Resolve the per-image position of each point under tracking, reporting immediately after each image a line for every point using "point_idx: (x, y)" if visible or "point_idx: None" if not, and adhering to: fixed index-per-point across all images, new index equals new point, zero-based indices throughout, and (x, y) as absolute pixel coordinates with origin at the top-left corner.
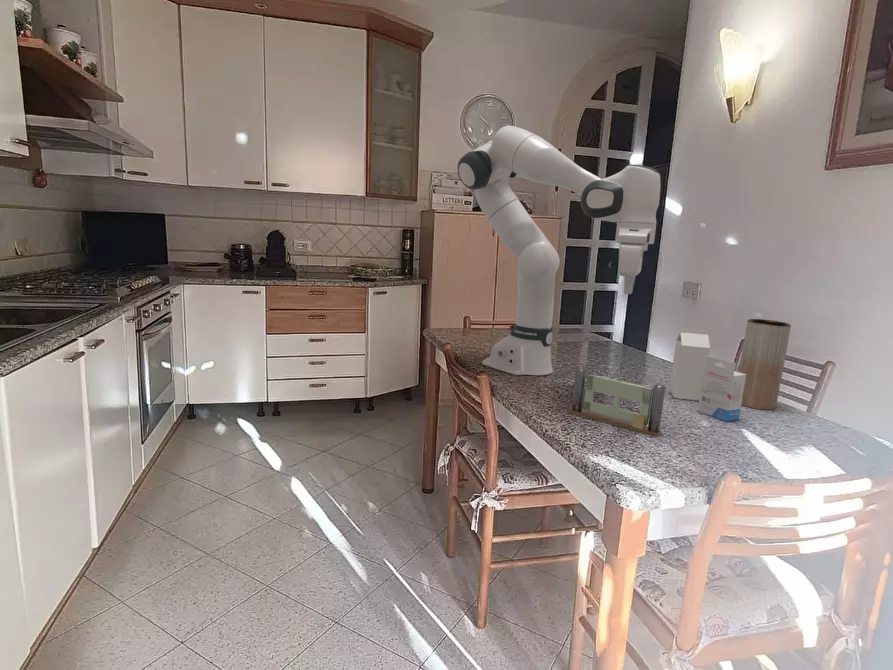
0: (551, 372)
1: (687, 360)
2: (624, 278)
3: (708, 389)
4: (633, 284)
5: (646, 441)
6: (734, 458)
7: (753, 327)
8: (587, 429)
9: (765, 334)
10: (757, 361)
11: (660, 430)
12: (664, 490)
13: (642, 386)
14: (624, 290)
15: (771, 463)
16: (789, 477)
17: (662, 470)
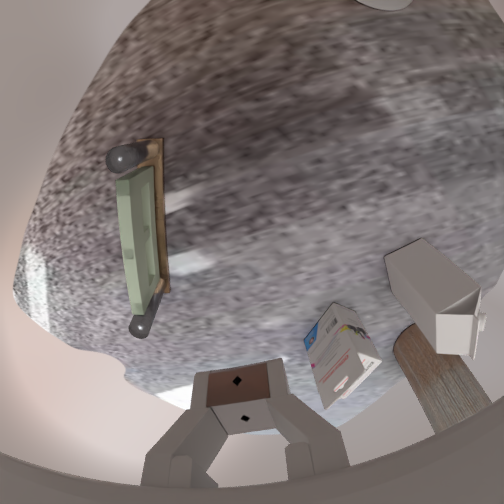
0: (382, 9)
1: (420, 307)
2: (146, 461)
3: (335, 339)
4: (287, 438)
5: (121, 283)
6: (162, 364)
7: (456, 420)
8: (92, 203)
9: (439, 427)
10: (423, 390)
11: (164, 292)
12: (37, 323)
13: (136, 298)
14: (193, 386)
15: (183, 387)
16: (160, 396)
17: (65, 315)
